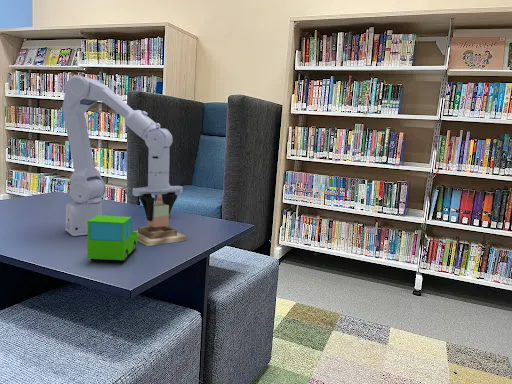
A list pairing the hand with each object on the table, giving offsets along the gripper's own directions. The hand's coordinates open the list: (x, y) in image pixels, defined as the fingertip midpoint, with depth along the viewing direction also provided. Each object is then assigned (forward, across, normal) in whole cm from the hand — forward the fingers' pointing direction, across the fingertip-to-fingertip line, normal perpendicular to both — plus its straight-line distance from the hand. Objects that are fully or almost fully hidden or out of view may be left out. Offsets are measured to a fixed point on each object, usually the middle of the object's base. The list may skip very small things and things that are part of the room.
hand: (157, 219), depth 117 cm
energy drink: (+6, +14, +24) cm, 28 cm away
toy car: (+6, -16, -9) cm, 19 cm away
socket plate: (+6, 0, 0) cm, 6 cm away
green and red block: (+2, 0, 0) cm, 2 cm away
